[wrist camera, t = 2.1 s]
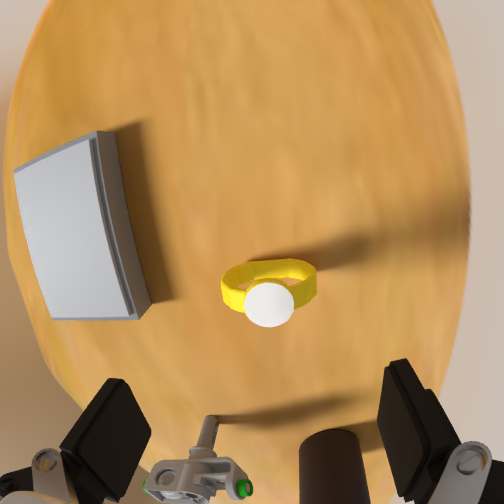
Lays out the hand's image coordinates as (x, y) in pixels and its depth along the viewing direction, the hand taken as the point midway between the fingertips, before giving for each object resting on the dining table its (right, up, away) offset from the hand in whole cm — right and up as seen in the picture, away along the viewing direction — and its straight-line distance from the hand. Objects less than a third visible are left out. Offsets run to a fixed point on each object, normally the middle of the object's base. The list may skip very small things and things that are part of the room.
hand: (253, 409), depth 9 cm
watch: (+1, +4, +12) cm, 13 cm away
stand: (-14, +7, +13) cm, 20 cm away
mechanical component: (-4, -12, +18) cm, 22 cm away
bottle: (+9, -16, +18) cm, 25 cm away
